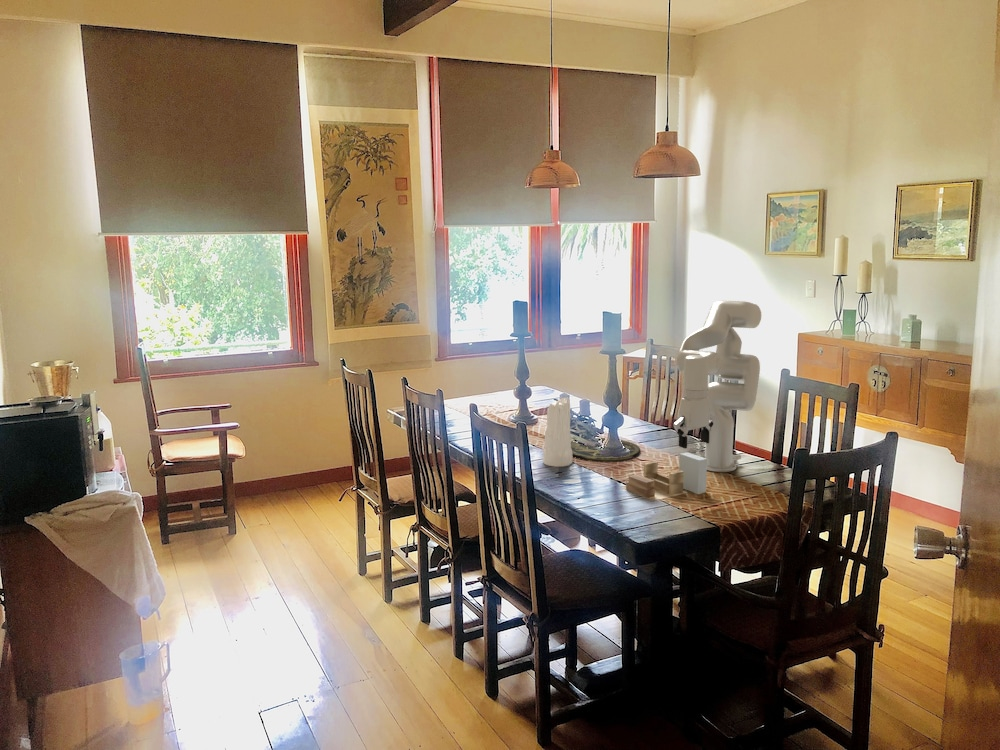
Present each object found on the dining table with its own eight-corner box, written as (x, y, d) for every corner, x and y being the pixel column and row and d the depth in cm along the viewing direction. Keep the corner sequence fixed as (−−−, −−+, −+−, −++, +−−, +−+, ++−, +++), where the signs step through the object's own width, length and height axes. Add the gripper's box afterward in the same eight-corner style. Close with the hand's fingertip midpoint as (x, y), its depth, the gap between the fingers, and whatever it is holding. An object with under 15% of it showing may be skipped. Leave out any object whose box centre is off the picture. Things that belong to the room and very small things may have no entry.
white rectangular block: (686, 487, 261) (687, 452, 259) (705, 494, 253) (707, 458, 251) (678, 488, 259) (679, 453, 257) (697, 496, 251) (699, 460, 249)
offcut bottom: (634, 487, 258) (634, 480, 257) (654, 496, 249) (654, 488, 249) (625, 489, 256) (626, 482, 256) (646, 498, 248) (646, 490, 247)
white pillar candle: (541, 466, 287) (541, 399, 283) (544, 457, 298) (544, 393, 293) (571, 467, 286) (571, 400, 281) (573, 459, 296) (573, 394, 292)
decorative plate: (553, 440, 317) (621, 434, 325) (553, 445, 317) (621, 439, 325) (580, 461, 289) (654, 454, 297) (580, 466, 289) (654, 459, 297)
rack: (654, 483, 266) (655, 460, 265) (687, 496, 253) (688, 472, 251) (620, 490, 259) (620, 466, 257) (652, 504, 245) (653, 479, 244)
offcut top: (636, 481, 256) (636, 474, 256) (654, 488, 250) (654, 480, 249) (628, 483, 254) (628, 476, 254) (646, 490, 248) (646, 482, 247)
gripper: (706, 387, 258) (705, 437, 261) (666, 395, 249) (666, 446, 253) (723, 392, 252) (721, 443, 255) (683, 399, 243) (682, 452, 247)
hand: (694, 444), depth 254 cm, fingers open, 9 cm apart
